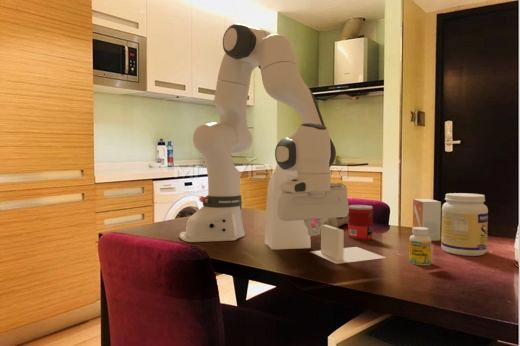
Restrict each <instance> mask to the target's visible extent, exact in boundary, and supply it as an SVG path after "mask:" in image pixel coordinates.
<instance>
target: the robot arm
mask: <svg viewBox="0 0 520 346" xmlns="http://www.w3.org/2000/svg"><path fill="white" fill-rule="evenodd" d="M222 48H223V51H224V55H223V58H222V60H221V62H220V66H219V69H218V76H217V80H216V85H215V93H214V99H213V104H214V106H215V108H216V109H217V111H218V113H219V114H218V116H219V122H214V121H213V122H208V123H203V124H200V125H199V126H197V127H196V128H195V130H194V132H193V136H192V142H193V145H194V148H195V150H196V151H198V153H200V155H201V156H202V159H203V161H204V164H205V167H206V171H207V186H208V187H207V190H208V191H207V194H208V195H206V196H203V195H201V196H199V201H200V202H201V203H202V207H201V208H199V209H198V210H197V211H196V212H195V213H193V214H192V215H191V216H189V217H188V219H187V221H186V227H185V231H181V232H180V233H179V238H180V240H182V241H184V242H188V243H201V242H202V243H204V242H226V241H228V242H229V241H236V240H237V239H240V238H243V237H245V235H246V234H245V231H244V226H243V219H242V207H243V201H242V195H241V174H240V171H239V169H238V168H236V166H235V164H234V161H233V158H232V156H238V155H241V154H243V153H246V152H247V151H249V150H250V148H251V147H252V145H253V135H252V132H251V131H250V130H249V126H248V120H247V119H248V118H247V106H248V105H247V104H248V97H249V92H250V91H249V90H250V85H251V79H252V78H251V77H252V72H253V71H254V70H255V68H257V67H258V69H259V70H260V74H261V80H262V85H263V88H264V90H265V92H266V93H267V95H268V96H270V98H272V99H274V100H275V101H277V102H280V103H282V104H285V105H287V106H289V107H290V108H293V109H294V110H295V111H296V112H298V114H299V115H300V117H301V119H302V122H303V123H302V124H300V125H299V126H298V128H297V130H296V131H295V132H294V133H293V134H290V135H289V136H286V137H283V138H281V139H280V140H279V141H278V143H277V144H276V146H275V148H274V149H275V150H274V151H275V152H274V158H275V161H276V165H277V164H278V165H279V166H280V167H281V168H282V169H283V170H288V171H297V170H298V173H297V177H296V178H294V179H291V180H289V181H286V182H284V183H282V184H281V185H280V188H281V190H282V191H284V192H282V193H281V194H280V196H279V200H278V217H279V218H280V219H281V220H283V221H295V220H304V223H305V225H306V227H307V229H308V235H309V236H310V237H313V236H321V227H322V226H323V224H324V218H333V217H346V216H347V214H348V213H349V200H348V188H347V186H346V185H345V184H343V182H342V183H341V182H335V183H333V182H332V183H331V180H332V179H331V178H332V175H331V173H332V172H331V169H330V168H331V167H332V166H333V164H334V162H335V160H336V158H337V157H336V156H337V150H336V147H335V146H336V145H335V144H334V142H333V141H332V138H331V137H330V132H329V129H328V127H327V126H326V125H325V122H324V119H323V116H322V114H321V110H320V107H319V105H318V102H317V100H316V98H315V95H314V93H313V92H312V90H311V89H310V88H309V87H308V85H307V84H306V83H305V81H304V80H303V78H302V76H301V73H300V71H299V67H298V62H297V59H296V56H295V52H294V50H293V46H292V44H291V43H290V41H289V39H288V38H287V37H286V36H285V35H283V34H279V33H272V32H270V31H268V30H265V29H262V28H257V27H253V26H249V25H246V24H243V23H233V24H231V25H229V27H228V28H227V29H226V30H225V32H224V35H223V37H222ZM313 220H315V222H316V225H315V227H313V226H312V224H313Z"/></svg>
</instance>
